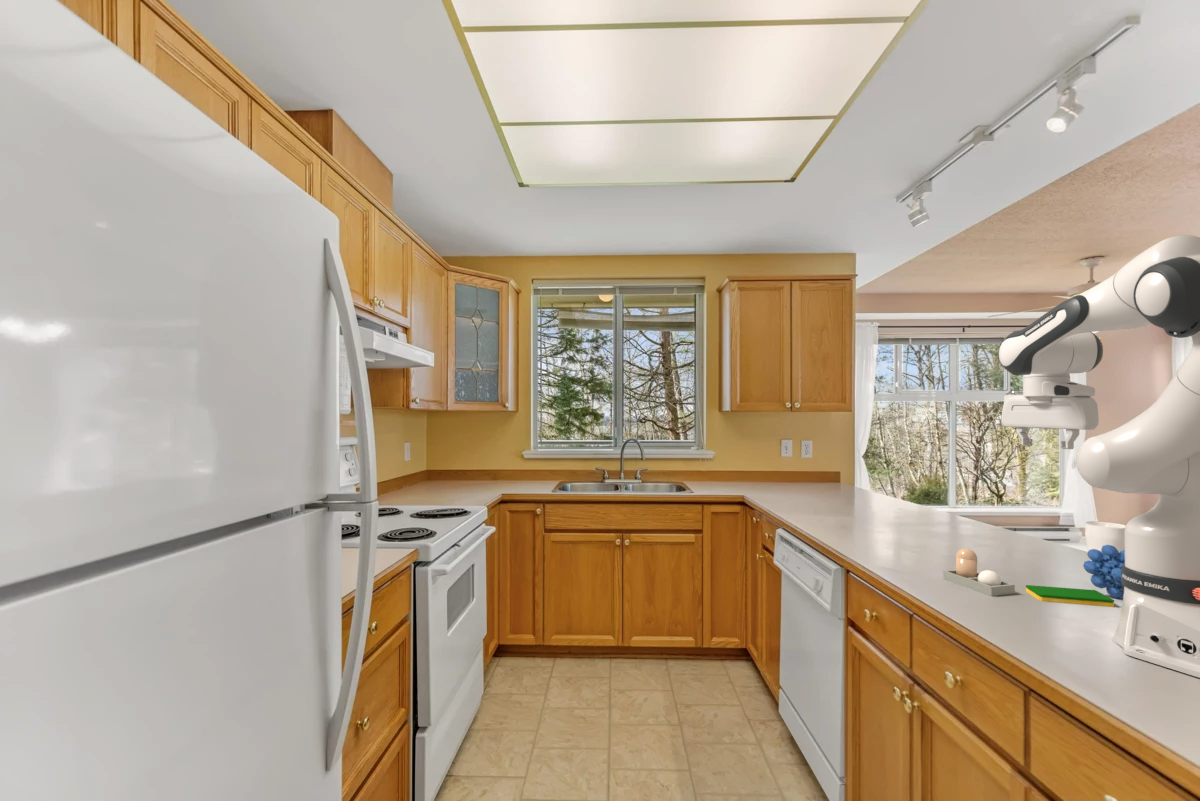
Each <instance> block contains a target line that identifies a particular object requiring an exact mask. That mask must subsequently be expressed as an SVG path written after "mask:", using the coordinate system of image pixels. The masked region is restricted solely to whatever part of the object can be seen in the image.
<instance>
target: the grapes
mask: <svg viewBox="0 0 1200 801" xmlns="http://www.w3.org/2000/svg"><path fill="white" fill-rule="evenodd" d="M1101 551H1102V552H1101ZM1101 551H1099V550H1096V549H1091V550H1089V551H1088V550H1087V557H1088V558H1090V559H1091V560H1092V561H1090V559H1089V560H1086V561H1084V563H1083V565H1082V567H1083V569H1084V570H1085V571H1086V572H1087V573H1088V574H1091V577H1090V581H1091V583H1092V585H1093V586H1095V588H1099V589H1105V588H1106V589H1105V590H1106V593H1107V594H1108V595H1109V596H1111V597H1112V598H1114V599H1121V598H1123V597H1124V592H1123V589H1122V583H1121V574H1122V565H1123V564H1125V550H1123V551H1120V553H1119V552H1118V550H1117V549H1116V548H1115V547H1114V546H1111V545H1105V546H1103V547H1102V549H1101Z"/></svg>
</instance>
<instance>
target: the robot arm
mask: <svg viewBox="0 0 1200 801" xmlns="http://www.w3.org/2000/svg"><path fill="white" fill-rule="evenodd" d="M1151 324H1152V325H1154V326H1156V327H1158V328H1160V329H1162V330H1164V332H1165V334H1166V335H1168V336H1169V337H1173V338H1178V339H1184V338H1190V337H1191V341H1192V345H1191V349H1190V351H1189V352H1188V354H1187V356H1186V357H1185V358H1184V360H1183V361H1182V363H1181V365H1180V366H1179V368H1178V369H1177V370H1176V372H1175V374H1174V375H1173V377H1172V378H1171V379H1170V381H1169V382H1168V384H1167V385H1166V387H1165V388H1164V390H1163V391H1162V392H1161V394H1160V395H1159V397H1158V398H1157V400H1155V402H1153V403H1152V404H1151V405H1150V406H1149V407H1148V408H1147V409H1146V410H1144V411H1143V412H1141V413H1140V414H1139V415H1137V416H1135V417H1134V418H1132V419H1130V420H1129V421H1127V422H1126V423H1123V424H1122V425H1120V426H1119V427H1117V428H1114V429H1112V430H1109V431H1107V432H1104V433H1100V434H1098V435H1095V436H1091V437H1088V438H1087V439H1086V440H1084V441H1083V442H1082V444H1081V445H1080V447H1079V448H1078V450H1077V453H1076V455H1075V456H1076V457H1075V462H1076V463H1075V465H1076V468H1077V471H1078V473H1079V475H1080V476H1081V478H1082V479H1083V480H1084V481H1085V482H1086V483H1087V484H1088V485H1090V486H1091V487H1092V488H1097V489H1102V490H1106V491H1111V492H1118V493H1121V494H1136V495H1137V494H1140V495H1141V494H1142V495H1159V497H1158V500H1157V502H1156V503H1155V504H1154V505H1153V506H1152V508H1150V509H1149V510H1148V511H1147V512H1144V513H1141V514H1138V515H1136V516H1134V517H1133V518H1131V519H1130V520H1129V521H1128V522H1127V523H1126V527H1125V530H1124V542H1125V564H1123V565H1122V574H1121V583H1122V589H1123V592H1124V595H1123V597H1122V598H1123V599H1122V606H1121V613H1120V617H1119V621H1118V624H1117V628H1116V631H1115V633H1114V635H1113V638H1112V639H1113V641H1114V642H1115V643H1116V644H1117V645H1119V646H1120V647H1122V650H1123V651H1122V652H1123V653H1124V654H1125V655H1126V656H1130V657H1132V658H1136V659H1139V660H1141V661H1145V662H1148V663H1151V664H1155V665H1158V666H1161V667H1164V668H1168V669H1171V670H1174V671H1177V672H1180V673H1183V674H1186V675H1189V676H1193V677H1195V678H1199V679H1200V236H1197V235H1189V234H1186V235H1185V234H1182V235H1175V236H1170V237H1167V238H1165V239H1163V240H1161V241H1159V242H1157V243H1156V244H1154V245H1151V246H1150V247H1149V248H1146V249H1145V250H1144V251H1142V252H1140V253H1139V254H1137V255H1136V256H1135V257H1133V258H1132V259H1131V260H1129V261H1128V262H1126V264H1124V265H1123V266H1122V267H1121V268H1120V269H1119V270H1117V271H1116V272H1115V273H1114V274H1112V275H1111V276H1109V277H1108V278H1106V279H1104V280H1102V281H1101V282H1100V283H1098V284H1097V285H1094V286H1093V287H1091V288H1089V289H1087V290H1085V291H1083V292H1081V293H1079V294H1077V295H1075V296H1072V297H1070V298H1069V299H1066V300H1064V301H1062V302H1061V303H1059V304H1057V305H1056V306H1054V307H1053V308H1052V309H1050V310H1049V311H1047V312H1046V313H1044V314H1043V315H1041V316H1040V317H1039V318H1037V319H1035V320H1034V321H1033V322H1031V323H1030V324H1029V325H1027V326H1026V327H1024V328H1023V329H1019V330H1014V331H1012V332H1011V333H1009V334H1008V335H1007V336H1006V337H1005V338H1004V339H1003V340H1002V341H1001V343H1000V345H999V346H998V352H997V358H998V362H999V364H1000V366H1001V367H1002V368H1003V369H1005V371H1007V372H1008V373H1010V374H1012V375H1013V376H1015V377H1016V376H1022V389H1021V390H1014V389H1013V390H1009V392H1007V393H1006V394H1005V395H1004V397H1003V406H1002V409H1001V410H1002V412H1001V424H1002V425H1003V426H1004V427H1007V428H1012V427H1013V428H1016V429H1015V430H1016V434H1017V435H1018V437H1019V438H1020V443H1021V444H1020V445H1021V446H1023V447H1032V446H1033V444H1034V443H1033V440H1034V439H1033V438H1030V437H1029V435H1028V432H1029V428H1034V429H1055V430H1056V429H1057V430H1058V429H1060V430H1065V434H1066V435H1067V437H1066V439H1065V440H1061V441H1060V444H1061V445H1060V446H1061V447H1060V448H1061V449H1063V450H1074V448H1075V443H1074V442H1075V441H1076V440H1077V438H1078V437H1079V435H1080V430H1083V431H1084V430H1085V431H1088V430H1089V431H1091V430H1092V431H1093V430H1095V429H1097V427H1098V426H1099V409H1098V403H1097V401H1096V399H1095V398H1093V397H1094V396H1095V395H1096V388H1095V387H1093V386H1089V385H1086V384H1082V383H1078V382H1074V381H1071V375H1070V374H1083V373H1088V372H1091V371H1092V370H1094V369H1095V368H1096V367H1097V366H1098V365H1099V364H1100V363H1101V361H1102V359H1103V356H1104V346H1103V343H1102V340H1101V339H1100V338H1099V337H1098V335H1096V334H1095V333H1093V332H1104V331H1117V330H1118V331H1119V330H1130V329H1137V328H1142V327H1146V326H1149V325H1151Z"/></svg>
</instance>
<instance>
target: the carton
mask: <svg viewBox="0 0 1200 801" xmlns="http://www.w3.org/2000/svg"><path fill="white" fill-rule="evenodd" d="M979 573H980V572H977V577H974V578H965V577H962V576H959V575H956V569H951V570H948V569H947V570H943V578H942V579H943V580H944V581H947V582H951V583H953V584H957V585H959V586H962V587H965V588H966V589H970V590H973V591H976V592H979V593H982V594H984V595H987V596H990V597H996V596H1005V595H1006V596H1007V595H1015V594H1016V592H1015V591H1016V589H1015V587H1016V586H1015V584H1013V583H1010V582H1006V581H1005V580H1001V585H998V586H989V585H986V584H983V583H980V582H978V575H979Z"/></svg>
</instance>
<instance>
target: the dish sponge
mask: <svg viewBox="0 0 1200 801" xmlns="http://www.w3.org/2000/svg"><path fill="white" fill-rule="evenodd" d="M1025 592H1026V593H1027V594H1028V595H1030V596H1032V597H1033V598H1035V599H1037V600H1038V601H1040V602H1046V603H1059V604H1060V603H1061V604H1069V605H1070V604H1072V605H1082V606H1083V605H1084V606H1095V607H1096V606H1097V607H1108V608H1109V607H1110V608H1114V607H1115V600H1114V599H1113V598H1111V597H1109V596H1107V595H1105V594H1104V593H1101V592H1100V591H1098V590H1096V589H1085V588H1071V587H1069V588H1068V587H1058V586H1057V587H1056V586H1047V585H1046V586H1043V585H1034V584H1033V585H1030V584H1029V585H1028V584H1026V585H1025Z"/></svg>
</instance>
